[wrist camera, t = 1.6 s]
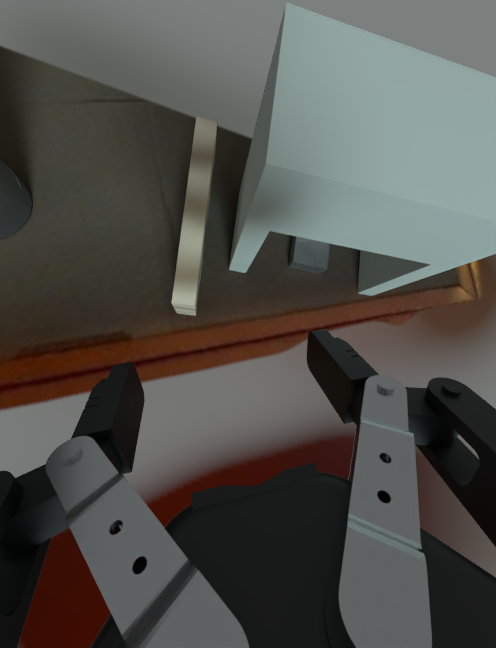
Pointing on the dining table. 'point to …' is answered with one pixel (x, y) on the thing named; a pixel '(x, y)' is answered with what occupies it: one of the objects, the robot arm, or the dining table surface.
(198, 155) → the beech blade
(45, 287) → the dining table surface
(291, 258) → the block
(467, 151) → the desk
